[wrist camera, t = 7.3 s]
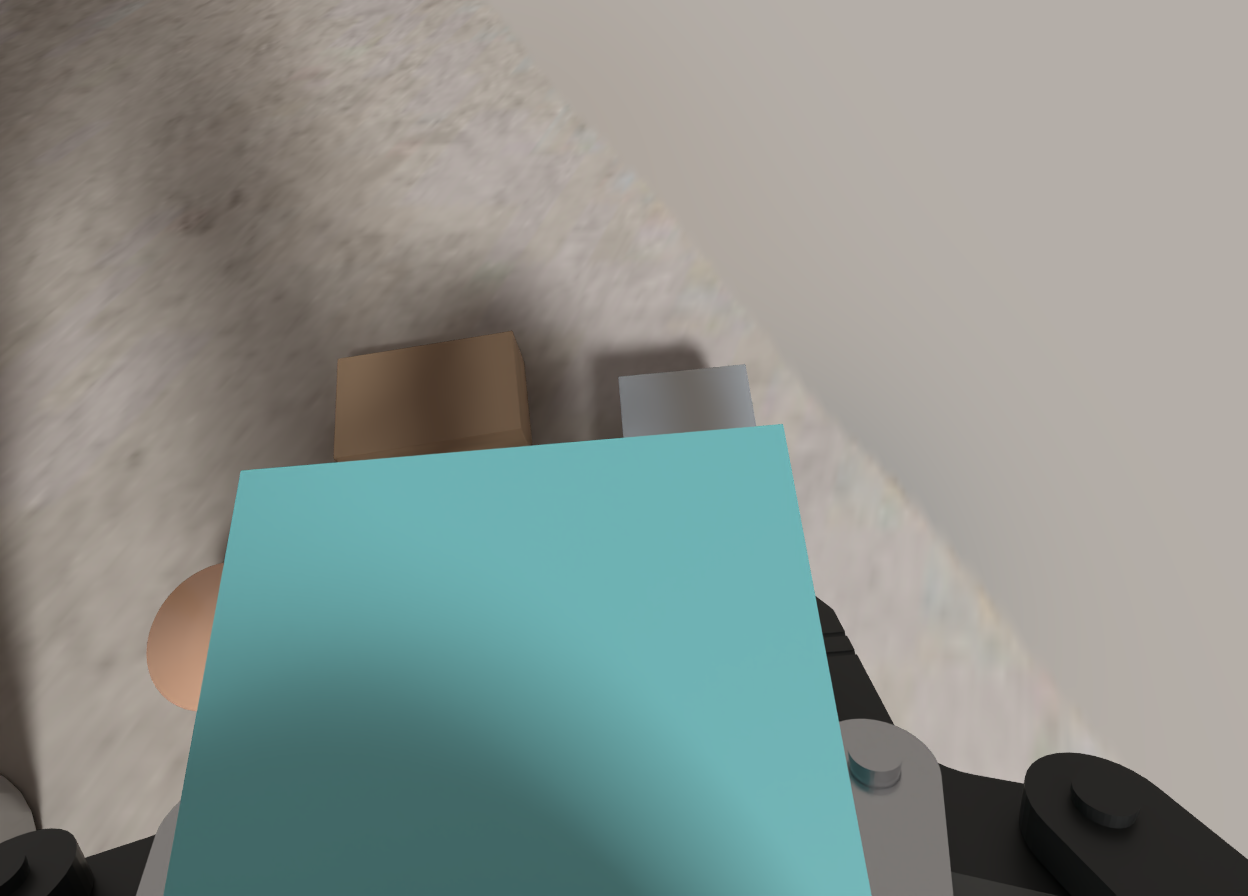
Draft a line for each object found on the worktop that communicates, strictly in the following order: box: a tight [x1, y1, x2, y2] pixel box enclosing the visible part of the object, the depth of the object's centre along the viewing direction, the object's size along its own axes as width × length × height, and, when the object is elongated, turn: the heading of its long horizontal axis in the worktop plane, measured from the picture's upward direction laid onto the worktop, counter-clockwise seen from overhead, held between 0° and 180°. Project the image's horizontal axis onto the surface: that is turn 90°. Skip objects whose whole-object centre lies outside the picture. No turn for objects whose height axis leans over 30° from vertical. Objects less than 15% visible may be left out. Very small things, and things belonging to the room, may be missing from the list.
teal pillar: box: [163, 424, 872, 896], centre depth 10 cm, size 5×5×11 cm
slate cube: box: [618, 364, 756, 438], centre depth 28 cm, size 5×5×5 cm
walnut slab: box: [333, 331, 532, 462], centre depth 31 cm, size 8×5×3 cm, turn 98°
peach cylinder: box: [147, 563, 224, 711], centre depth 25 cm, size 5×5×5 cm
